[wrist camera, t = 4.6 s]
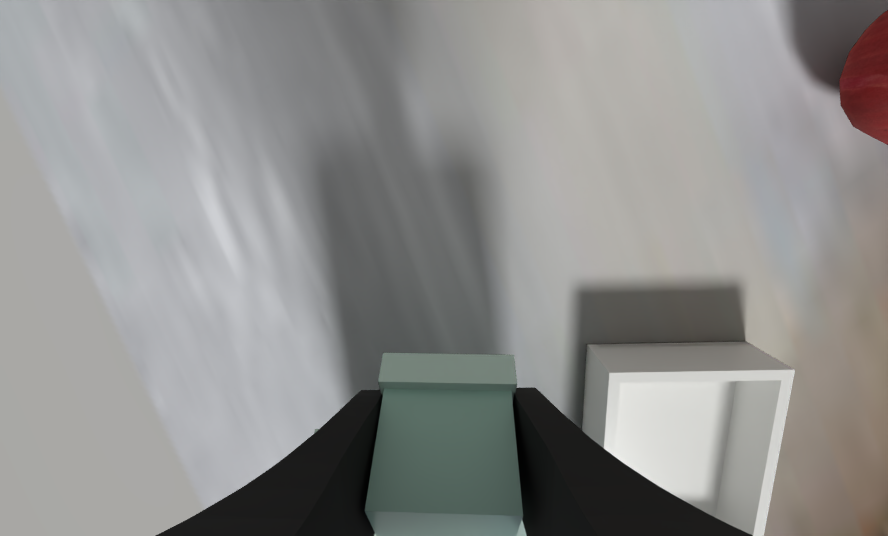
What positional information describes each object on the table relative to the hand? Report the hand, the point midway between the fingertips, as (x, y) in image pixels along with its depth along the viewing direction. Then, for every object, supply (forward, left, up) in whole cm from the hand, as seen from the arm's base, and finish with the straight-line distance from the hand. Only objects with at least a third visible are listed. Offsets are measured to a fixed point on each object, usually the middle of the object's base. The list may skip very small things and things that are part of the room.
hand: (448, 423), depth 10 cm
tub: (-8, -11, -10) cm, 17 cm away
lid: (-5, 0, -5) cm, 7 cm away
